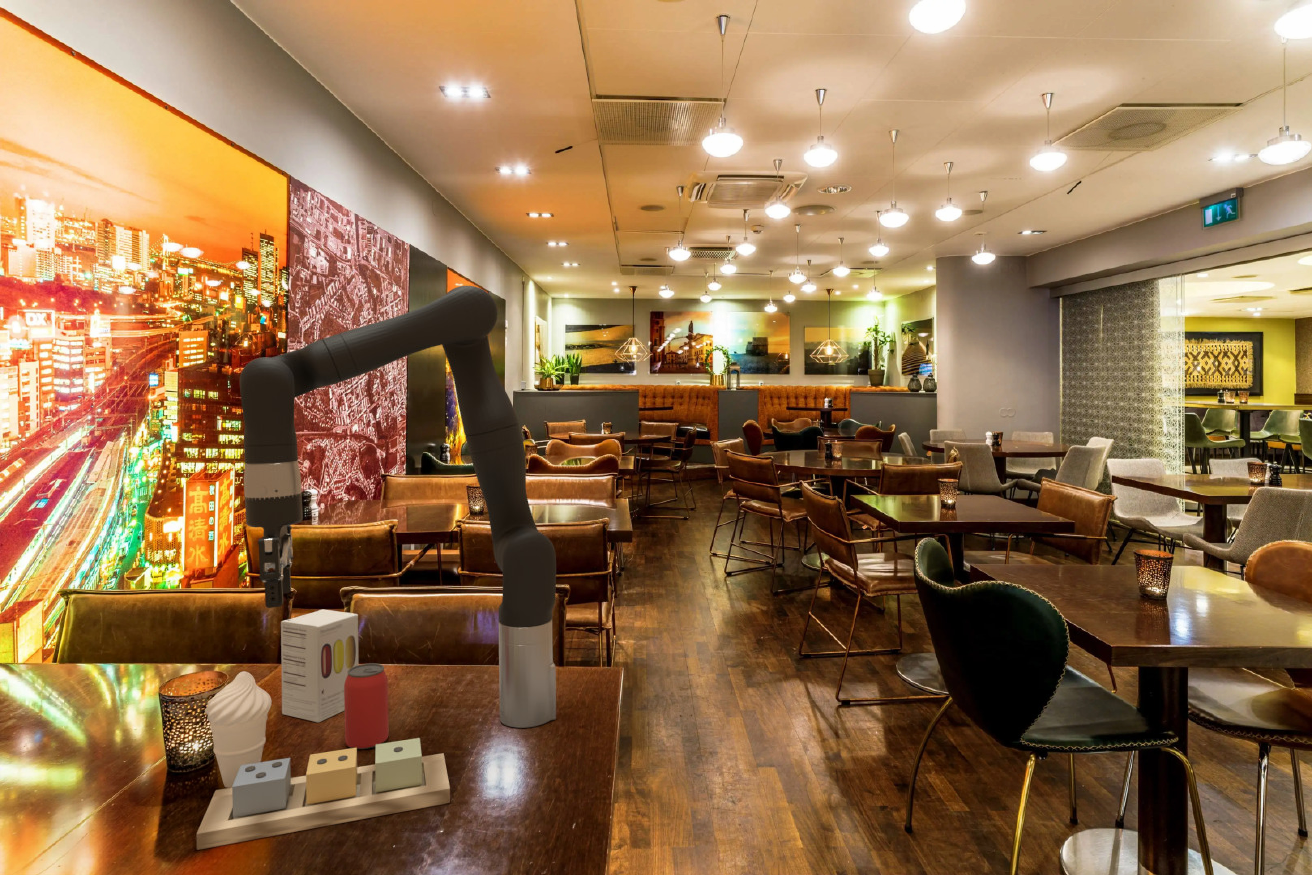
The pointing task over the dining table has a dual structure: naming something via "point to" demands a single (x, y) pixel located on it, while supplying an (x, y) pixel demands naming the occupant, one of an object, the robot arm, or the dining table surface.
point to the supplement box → (317, 662)
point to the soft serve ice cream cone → (238, 725)
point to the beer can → (366, 706)
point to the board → (322, 806)
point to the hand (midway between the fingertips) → (279, 599)
